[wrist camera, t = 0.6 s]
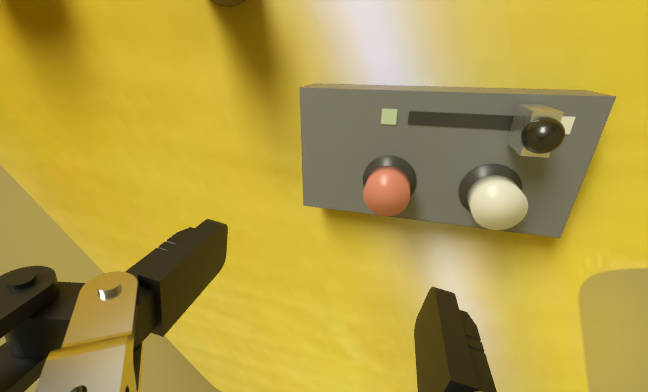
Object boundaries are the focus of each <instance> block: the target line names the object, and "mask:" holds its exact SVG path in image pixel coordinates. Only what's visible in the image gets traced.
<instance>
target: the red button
mask: <svg viewBox="0 0 648 392" xmlns="http://www.w3.org/2000/svg"><path fill="white" fill-rule="evenodd" d="M363 198H364V202H365V204H366V205H367V207H368V208H369V209H370V210H371V211H373V212H374V213H376V214H378V215H382V216H393V215H396V214H399V213H400V212H402V211H403V210H404V209H405V208H406V207H407V205H408V203H409V200H410V181H409V178H408V176H407V175H406V173H405V172H404V171H402V170H401V169H399V168H397V167H394V166H382V167H379V168H377V169H375V170H374V171H373V172H372V173H371V174H370V175H369V177H368V179H367V182H366V185H365V187H364V190H363Z"/></svg>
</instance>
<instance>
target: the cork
mask: <svg viewBox="0 0 648 392" xmlns="http://www.w3.org/2000/svg"><path fill="white" fill-rule="evenodd" d="M212 1H214V2H216V3H217V4H219V5H223V6H228V7H231V6H235V5H239V4H240V3H241V2H243V1H244V0H212Z"/></svg>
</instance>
